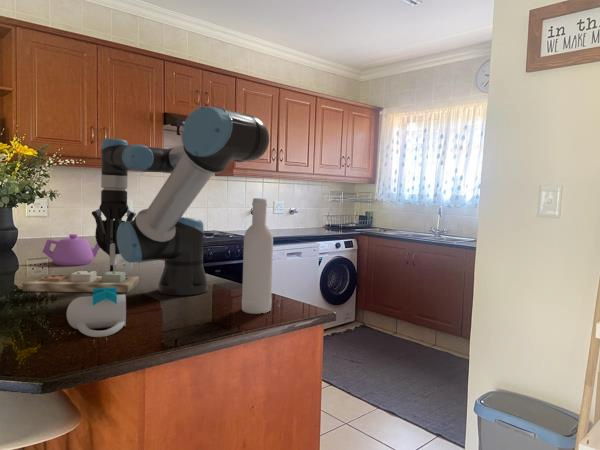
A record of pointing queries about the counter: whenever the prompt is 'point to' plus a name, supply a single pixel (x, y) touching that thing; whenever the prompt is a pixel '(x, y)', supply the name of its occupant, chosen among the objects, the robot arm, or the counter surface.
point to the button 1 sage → (114, 277)
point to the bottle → (257, 262)
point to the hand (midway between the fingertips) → (113, 264)
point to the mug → (98, 312)
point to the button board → (79, 285)
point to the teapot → (71, 251)
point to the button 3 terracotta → (53, 278)
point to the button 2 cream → (83, 276)
